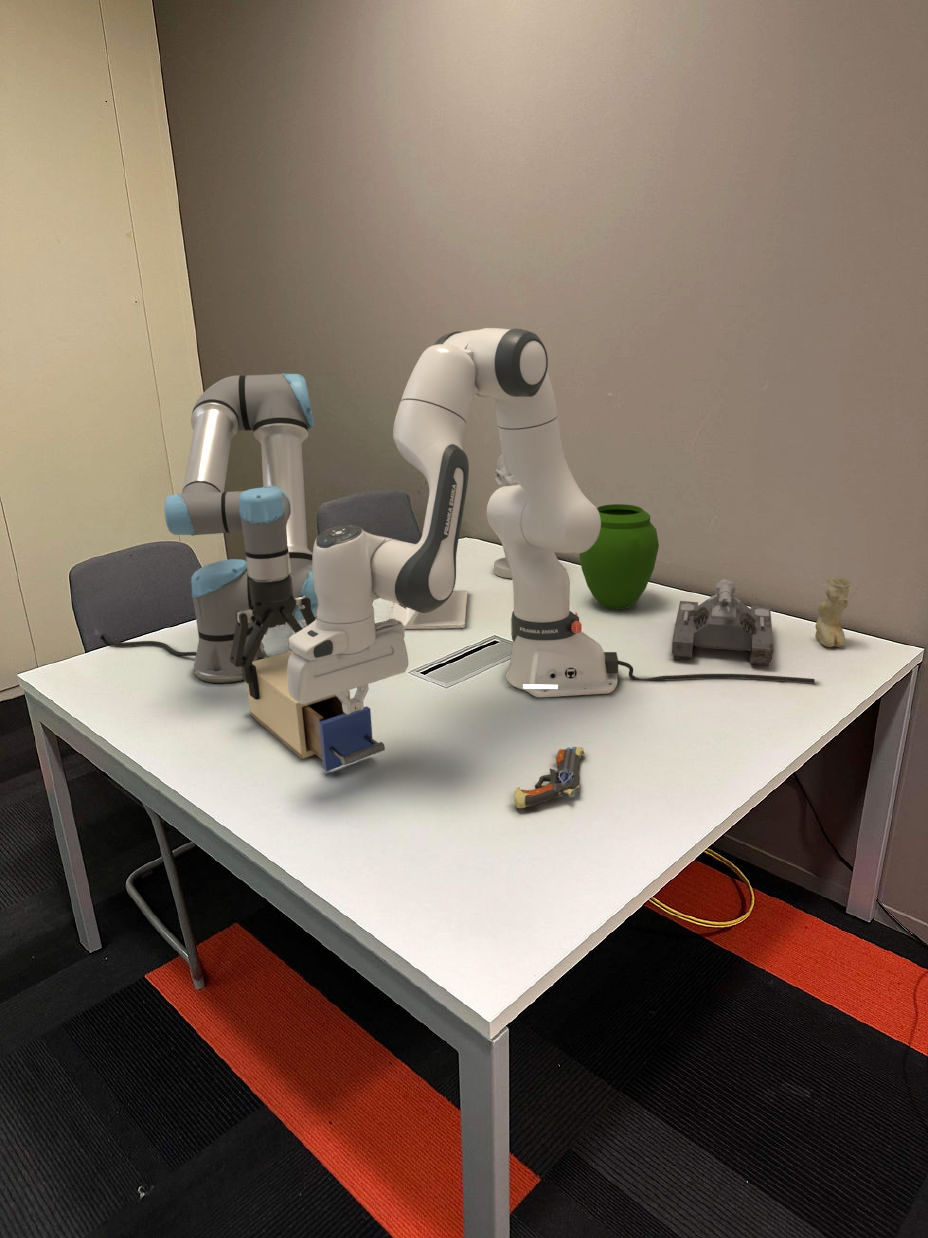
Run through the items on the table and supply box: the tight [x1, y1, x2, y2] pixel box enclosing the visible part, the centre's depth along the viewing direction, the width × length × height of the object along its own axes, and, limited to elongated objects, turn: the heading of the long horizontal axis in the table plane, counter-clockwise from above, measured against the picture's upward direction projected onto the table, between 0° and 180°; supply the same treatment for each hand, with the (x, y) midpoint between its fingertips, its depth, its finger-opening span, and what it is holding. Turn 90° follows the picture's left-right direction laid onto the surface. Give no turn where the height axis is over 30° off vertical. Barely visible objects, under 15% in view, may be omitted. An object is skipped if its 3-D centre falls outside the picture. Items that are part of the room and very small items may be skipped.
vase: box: [578, 503, 660, 610], centre depth 210 cm, size 20×20×24 cm
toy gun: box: [513, 746, 585, 809], centre depth 137 cm, size 3×19×10 cm
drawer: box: [302, 696, 386, 772], centre depth 147 cm, size 26×9×9 cm, turn 37°
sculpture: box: [814, 576, 852, 648], centre depth 185 cm, size 6×7×15 cm
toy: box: [671, 578, 775, 666], centre depth 186 cm, size 25×20×15 cm
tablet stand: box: [388, 590, 468, 630], centre depth 211 cm, size 18×25×17 cm
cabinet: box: [245, 650, 351, 760], centre depth 156 cm, size 22×10×11 cm, turn 37°
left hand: (282, 688), depth 160 cm, fingers open, 10 cm apart
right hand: (353, 711), depth 137 cm, fingers closed
